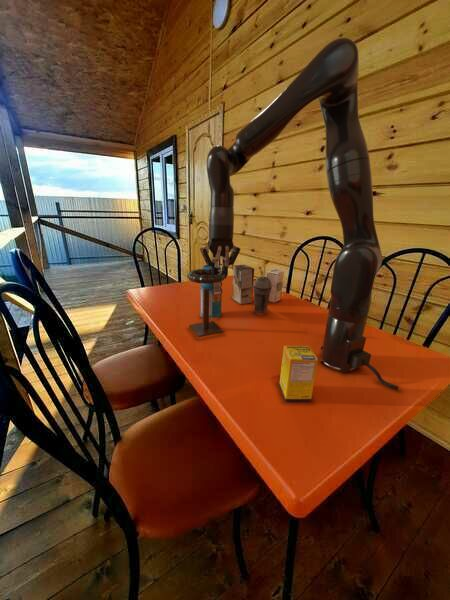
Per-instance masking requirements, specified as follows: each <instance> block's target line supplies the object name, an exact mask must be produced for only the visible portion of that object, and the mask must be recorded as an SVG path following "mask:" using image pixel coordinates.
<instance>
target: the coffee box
mask: <svg viewBox="0 0 450 600" xmlns="http://www.w3.org/2000/svg"><path fill="white" fill-rule="evenodd" d="M232 272H233V273H232V295H231V297H232V298H231V299H232V300H234V301H235V302H237V303H238V304H240V305H246V304H252V303H253V296H254V287H253V286H254V280H255V279H254V278H255V268H254V267H252V266H249V265H246V264H236V265H233V271H232Z"/></svg>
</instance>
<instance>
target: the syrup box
mask: <svg viewBox="0 0 450 600" xmlns="http://www.w3.org/2000/svg"><path fill="white" fill-rule="evenodd" d="M284 275H285V271H284V270H281V269H277V268H273V269H269V270H267V271H266V277H267V278H268V279H269V280H270V281H271V285H272V288H271V291H270V295H269V300H268V302H270V303H274V304H275V303H277V302H280V301H281V297H282V291H283V282H284Z"/></svg>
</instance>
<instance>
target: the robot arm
mask: <svg viewBox="0 0 450 600" xmlns="http://www.w3.org/2000/svg"><path fill="white" fill-rule="evenodd" d="M359 62H360V59H359V49H358V46H357V44H356V43H355V41H353V39H351V38H348V37H338V38H335V39H334V40H333V39H332V41H330V42H328V43H327V44H325V46H324V47H322V48H321V50H319V52H318V53H316V55H315V56H314V57H313V58H312V59H311V60H310V62H309V63H307V65H306V66H305V67H304V69H302V70H301V72H299V74H298V75H297V76H296V77H295V78H294V79H293V80H292V82H290V83H289V84H288V86H287V87H286V88H285V89H284V90H283V91H281V93H280V94H279V95H278V96H277V97H276V98H275V99H274V100H273V101H272V102H271V103H270V104H269V105H268V106H267V107H266V108H264V110H263V111H261V112H260V113H259V114H258V115H257V116H256V117H254V118H253V119H252V120H251V121H249V122H248V123H247V124H246V125H245V126H244V127H243V128H241V129H240V130H239V131H238V132H237V134H236V136H235V141H234V142H233V144H232V145H231V146H230V147H228V148H227V147H225V146H223V145H215V146H213V147H212V148H211V149H210V150H209V152H208V154H207V158H206V174H207V181H208V186H209V190H210V191H209V192H210V194H209V195H210V198H209V199H210V200H209V214H208V242H207V245H205V246H204V247H200V248H199V251H200V254H201V255H202V258H203V260H204V263H205V265H209V266H211V267H212V275H218V268H217V267H218V266H219V262H220V260H221V262H222V265H221V271H222V272H224V273H225V279H227V277H228V276H229V267H230V266H234V264H235V263H236V260H237V258H238V256H239V254H240V252H241V247H238V246H236V245H234V240H233V239H234V229H235V228H234V226H235V211H234V210H235V209H234V206H235V189H234V188H233V186H232V184H231V177H232V176H234V175H236V174H238V173H239V172H240V171H241V170H242V169H243V168H244V167H245V166H246V165H247V164H248V163H249V161H250V160H251V159H252V158H253V157H254V156H256V155H258V154H259V153H260V152H261V151H263V150H264V149H265V148H267V147H268V146H269V145H270V144H272V143H273V142H274V141H275V140H276V139H277V138H278V137H279V136H280V135H281V134H282V133H283V131H284V130H285V129H286V128H287V126H289V124H290V123H291V122H292V121H293V120H294V118H295V117H296V116H297V115H298V114H299V113H300V112H301V111H302V110H304V109H305V108H306V107H307V106H308V105H309V104H311V103H312V102H314V101H316V100H317V101H318V103H319V107H320V111H321V114H322V119H323V124H324V129H325V170H326V179H327V186H328V191H329V196H330V199H331V202H332V205H333V208H334V209H335V212H336V214H337V216H338V219H339V222H340V225H341V230H342V239H343V241H342V242H343V248H342V249H341V250H340V251H339V252H338V253H337V255H336V258H335V261H334V265H333V270H332V271H333V272H332V277H331V284H330V296H331V298H330V303H329V307H328V308H329V309H328V313H327V314H328V315H327V320H326V324H325V331H324V336H323V341H322V345H321V347H320V350H321V352H320V358H321V363H322V364H323V365H324V366H325V367H327V368H329V369H331V370H333V371H336V372H339V373H342V374H347V373H350V372H353V371H356V370H359V369H360V368H361V367H364V366H365V367H367V368H368V369H369V370H370V371H372V372H373V373H374V375H375V376H376V378H377V380H378V381H379V382H380V383H381V384H382V385H384V386H385V387H388V388H390V389H393V390H396V391H398V390H399V388H400V387H399V386H398V385H396V384H392V383H389V382H387V381H386V380H385V379H383V378H382V376H381V373H379V371H378V370H377V369H376V368H375V367H374V366H372V364H370V361H371V357H372V354H371V353H369V352H367V351H366V350H365V346H366V342H367V337H366V336H364V333H365V329H366V326H367V325H366V324H367V321H368V317H369V312H370V310H371V309H370V308H371V304H372V293H373V288H374V284H375V279H376V276H377V273H378V271H379V270H380V269H381V267H382V263H383V254H382V250H381V246H380V242H379V237H378V234H377V228H376V224H375V217H374V194H373V193H374V192H373V191H374V190H373V179H372V178H373V176H372V167H371V160H370V154H369V148H368V145H367V144H368V143H367V140H366V137H365V134H364V131H363V129H362V125H361V122H360V117H359V100H358V99H359V98H358V97H359V96H358V95H359V94H358V93H359V92H358V89H359V88H358V86H359V70H360V69H359V67H360V63H359ZM230 252H231V253H230ZM210 253H211V257H210V255H209V254H210ZM220 258H221V259H220Z"/></svg>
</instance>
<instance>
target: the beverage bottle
mask: <svg viewBox="0 0 450 600" xmlns="http://www.w3.org/2000/svg"><path fill="white" fill-rule="evenodd" d="M217 268H218V270H220V271H222V266H220V265H218V267H217ZM202 269H212V267H211V266H209V265H207V264H204V265H203V266H202ZM222 286H223V281H221V282H218V283H212V284H202V283H200V289H199V293H200V313H199V314H200V317H203V288H209V319H213V318H218V317H221V315H222V299H223V288H222Z"/></svg>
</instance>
